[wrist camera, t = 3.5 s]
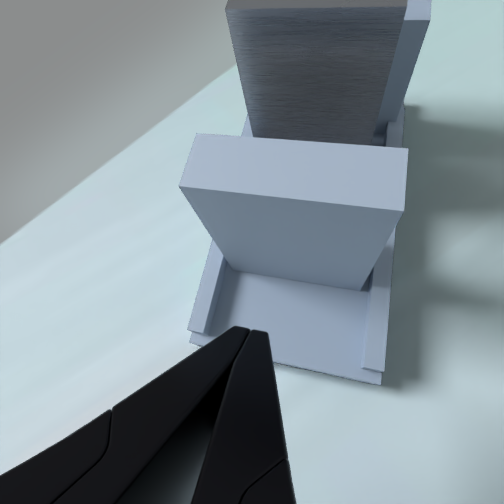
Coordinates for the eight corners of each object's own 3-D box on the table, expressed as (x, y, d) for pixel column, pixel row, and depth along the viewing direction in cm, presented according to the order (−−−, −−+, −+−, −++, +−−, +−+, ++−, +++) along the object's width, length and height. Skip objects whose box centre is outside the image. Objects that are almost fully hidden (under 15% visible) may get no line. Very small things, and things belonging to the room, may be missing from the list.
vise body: (375, 384, 16) (432, 384, 8) (196, 345, 17) (121, 317, 10) (399, 103, 21) (446, -37, 14) (262, 97, 23) (242, -29, 16)
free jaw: (359, 291, 16) (403, 211, 9) (232, 270, 17) (178, 186, 10) (364, 247, 17) (409, 139, 9) (242, 230, 18) (198, 125, 11)
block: (355, 201, 18) (407, 6, 9) (265, 191, 19) (225, 9, 10) (363, 141, 19) (415, -84, 10) (278, 135, 20) (254, -72, 11)
